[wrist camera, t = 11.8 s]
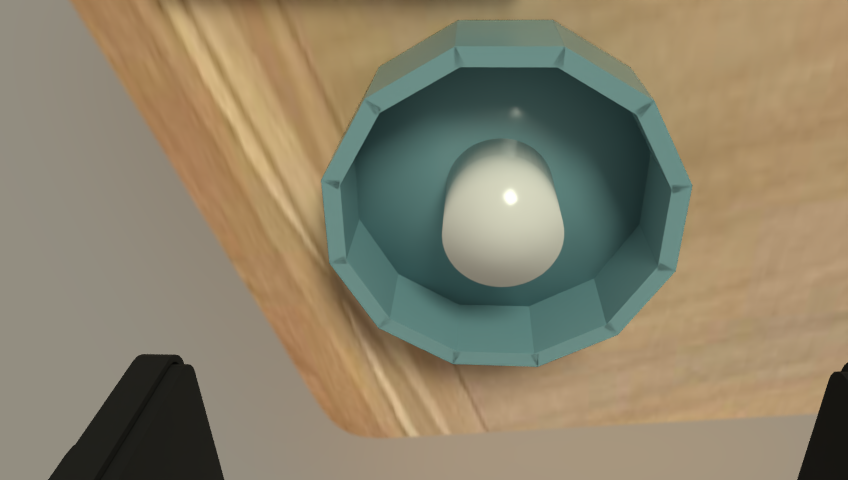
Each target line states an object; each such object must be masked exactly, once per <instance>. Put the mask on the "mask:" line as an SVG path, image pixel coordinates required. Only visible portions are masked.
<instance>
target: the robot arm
mask: <svg viewBox="0 0 848 480" xmlns="http://www.w3.org/2000/svg"><path fill="white" fill-rule="evenodd" d="M48 480H224V477H223V473H222V470H221V466H220V462H219V459H218V455H217V451H216V448H215V444H214V440H213V437H212V434H211V430H210V426H209V422H208V418H207V415H206V411H205V407H204V404H203V400H202V396H201V393H200V389H199V386H198V382H197V378H196V374H195V371H194V368H193V367H192V366H191V365H188V364H184V362H183V360H182V358H181V357H180V356H178V355H154V354H142V355H139V356H137V357H136V358H135V360H134V361H133V362H132V363H131V365H130V366H129V368H128V369H127V371H126V372H125V374H124V375H123V376H122V378H121V380H120V381H119V382H118V384H117V385H116V387H115V388H114V390H113V391H112V392H111V394H110V395H109V397H108V398H107V400H106V401H105V402H104V404H103V405H102V407H101V409H100V410H99V411H98V413H97V414H96V416H95V417H94V418H93V420H92V421H91V423H90V424H89V426H88V427H87V429H86V430H85V432H84V433H83V434H82V436H81V437H80V439H79V440H78V442H77V443H76V444H75V445H74V446H73V447H72V448H71V449H70V450H69V451H68V453H67V454H66V455H65V456H64V458H63V459H62V461H61V462H60V464H59V465H58V467H57V468H56V469H55V471H54V472H53V474H52V475H51V476H50V478H49V479H48ZM797 480H848V363H846V364H845V365H844V367H843V369H842V371H841V372H834V373H833V374H832V375H831V377H830V379H829V381H828V385H827V388H826V391H825V394H824V397H823V400H822V403H821V407H820V410H819V413H818V416H817V419H816V423H815V426H814V429H813V432H812V435H811V438H810V441H809V444H808V448H807V451H806V454H805V457H804V460H803V463H802V467H801V470H800V473H799V476H798V479H797Z"/></svg>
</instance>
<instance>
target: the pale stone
mask: <svg viewBox="0 0 848 480" xmlns="http://www.w3.org/2000/svg"><path fill="white" fill-rule="evenodd" d="M563 241H564V225H563V220H562V216H561V212H560V207H559V203H558V199H557V195H556V190H555V186H554V182H553V178H552V174H551V170H550V168H549V166H548V164H547V162H546V161H545V159H544V158H543V157H542V156H541V155H540V154H539V153H538V152H537V151H536V150H535V149H533V148H532V147H530V146H529V145H527V144H525V143H523V142H520V141H517V140H512V139H504V138H498V139H490V140H485V141H482V142H479V143H477V144H475V145H473V146H471V147H470V148H468V149H467V150H465V151H464V152H463V153H462V154H461V155H460V156H459V157H458V158H457V159H456V161H455V162H454V163H453V165H452V167H451V169H450V171H449V174H448V178H447V184H446V195H445V206H444V216H443V227H442V242H443V247H444V250H445V252H446V255H447V257H448V259H449V260H450V262H451V263H452V264H453V266H454V267H455V268H456V269H457V270H458V271H459V272H460V273H462V274H463V275H464V276H466V277H467V278H469V279H471V280H473V281H475V282H477V283H480V284H484V285H488V286H494V287H510V286H516V285H520V284H524V283H526V282H529V281H531V280H533V279H535V278H537V277H539V276H540V275H542V274H543V273H544V272H545V271H546V270H548V269H549V268H550V267H551V265H552V264H553V263H554V262H555V260H556V259H557V257H558V255H559V253H560V251H561V248H562V245H563Z"/></svg>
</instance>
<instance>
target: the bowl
mask: <svg viewBox="0 0 848 480" xmlns="http://www.w3.org/2000/svg"><path fill="white" fill-rule="evenodd" d="M498 138H504V139H512V140H517V141H520V142H523V143H525V144H527V145H529V146H530V147H532V148H533V149H535V150H536V151H537V152H538V153H539V154H540V155H541V156H542V157H543V158H544V159H545V161H546V162H547V164H548V166H549V168H550V170H551V174H552V178H553V182H554V186H555V190H556V195H557V199H558V203H559V207H560V212H561V216H562V220H563V225H564V241H563V245H562V248H561V251H560V253H559V255H558V257H557V259H556V260H555V262H554V263H553V264H552V265H551V267H550V268H549V269H548V270H546V271H545V272H544V273H543V274H542V275H540V276H539V277H537V278H535V279H533V280H531V281H529V282H526V283H524V284H520V285H516V286H510V287H494V286H488V285H484V284H480V283H477V282H475V281H473V280H471V279H469V278H467V277H466V276H464V275H463V274H462V273H460V272H459V271H458V270H457V269H456V268H455V267H454V266H453V264H452V263H451V262H450V260H449V259H448V257H447V255H446V252H445V250H444V247H443V242H442V227H443V216H444V206H445V195H446V184H447V178H448V174H449V171H450V169H451V167H452V165H453V163H454V162H455V161H456V159H457V158H458V157H459V156H460V155H461V154H462V153H463V152H464V151H465V150H467V149H468V148H470V147H471V146H473V145H475V144H477V143H479V142H482V141H485V140H490V139H498ZM321 183H322V193H323V203H324V213H325V224H326V234H327V244H328V254H329V264H330V265H331V266H332V267H333V269H334V270H335V271H336V273H337V274H338V275H339V277H340V278H341V279H342V281H343V282H344V283H345V285H346V286H347V287H348V289H349V290H350V291H351V292H352V294H353V295H354V296H355V298H356V299H357V300H358V302H359V303H360V304H361V306H362V307H363V308H364V310H365V311H366V312H367V314H368V315H369V316H370V318H371V319H372V320H373V322H374V323H375V324H376V326H377V327H378V328H379V329H381V330H384V331H386V332H388V333H390V334H392V335H394V336H396V337H398V338H400V339H402V340H404V341H406V342H408V343H410V344H412V345H415V346H417V347H419V348H421V349H423V350H425V351H427V352H429V353H431V354H433V355H435V356H437V357H439V358H441V359H443V360H446V361H448V362H450V363H452V364H469V365H500V366H531V367H538V366H541V365H543V364H546V363H548V362H551V361H553V360H556V359H558V358H561V357H563V356H566V355H568V354H571V353H573V352H576V351H578V350H581V349H583V348H586V347H588V346H591V345H593V344H596V343H598V342H601V341H603V340H606V339H608V338H611V337H614V336H616V335H618V334H619V333H620V332H621V331H622V330H623V328H624V327H625V326H626V325H627V324H628V323H629V322H630V321H631V320H632V319H633V317H634V316H635V315H636V314H637V313H638V312H639V311H640V310H641V309H642V307H643V306H644V305H645V304H646V303H647V302H648V301H649V300H650V299H651V298H652V296H653V295H654V294H655V293H656V292H657V291H658V290H659V289H660V288H661V287H662V285H663V284H664V283H665V282H666V281H667V280H668V279H669V278H670V277H671V276H672V274H673V273H674V272H675V271H676V266H677V261H678V256H679V251H680V246H681V241H682V236H683V231H684V225H685V220H686V215H687V210H688V205H689V200H690V195H691V190H692V184H691V181H690V179H689V177H688V175H687V173H686V170H685V168H684V166H683V164H682V161H681V159H680V157H679V155H678V153H677V150H676V148H675V146H674V144H673V141H672V139H671V137H670V135H669V133H668V130H667V128H666V126H665V124H664V121H663V119H662V117H661V115H660V112H659V110H658V108H657V106H656V104H655V101H654V100H653V98H652V97H651V95H650V94H649V93H648V91H647V90H646V88H645V87H644V86H643V84H642V83H641V82H640V80H639V79H638V77H637V76H636V75H635V73H634V72H633V71H632V69H631V68H630V67H629V66H627V65H625V64H624V63H622V62H621V61H619V60H617V59H616V58H614V57H612V56H611V55H609V54H607V53H606V52H604V51H603V50H601V49H599V48H598V47H596V46H594V45H593V44H591V43H590V42H588V41H586V40H585V39H583V38H581V37H580V36H578V35H577V34H575V33H573V32H572V31H570V30H568V29H567V28H565V27H563V26H562V25H560V24H559V23H557V22H555V21H554V20H457V21H456V22H454V23H452V24H451V25H449V26H447V27H445V28H444V29H442V30H440V31H439V32H437V33H435V34H434V35H432V36H430V37H429V38H427V39H425V40H424V41H422V42H420V43H419V44H417V45H415V46H413V47H412V48H410V49H408V50H407V51H405V52H403V53H402V54H400V55H398V56H397V57H395V58H393V59H392V60H390V61H388V62H387V63H385V64H383V65H381V66H380V67H379V68H378V70H377V72H376V74H375V76H374V78H373V80H372V82H371V84H370V85H369V87H368V89H367V91H366V93H365V95H364V97H363V99H362V101H361V102H360V104H359V106H358V108H357V110H356V112H355V114H354V116H353V118H352V120H351V121H350V123H349V125H348V127H347V129H346V131H345V133H344V135H343V137H342V139H341V140H340V142H339V144H338V146H337V149H336V151H335V153H334V155H333V157H332V159H331V161H330V163H329V165H328V167H327V169H326V171H325V173H324V175H323V178H322V180H321Z"/></svg>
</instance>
